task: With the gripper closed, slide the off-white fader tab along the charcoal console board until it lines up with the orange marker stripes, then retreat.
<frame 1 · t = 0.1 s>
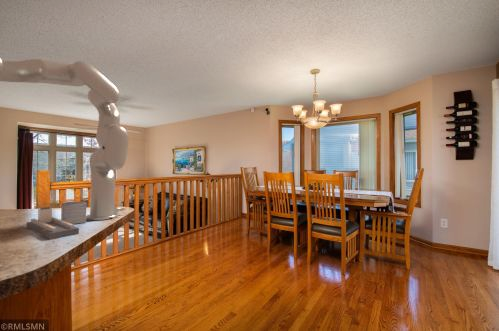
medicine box: (73, 223, 94), on the kitchen counter
console board: (51, 230, 84), on the kitchen counter
fader tab: (45, 214, 87), point 5 cm above the kitchen counter, slide at -7.0 cm
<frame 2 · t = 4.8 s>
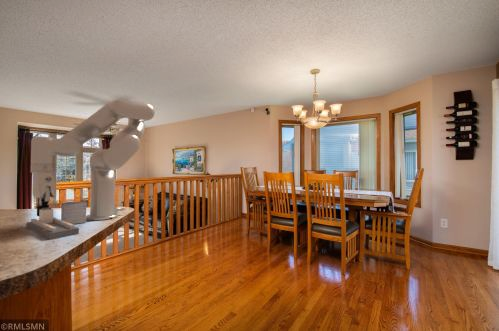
hand: (42, 215, 89), 4 cm above the kitchen counter, fingers closed
fader tab: (46, 215, 87), point 5 cm above the kitchen counter, slide at -5.7 cm, touching gripper
everything else where it was.
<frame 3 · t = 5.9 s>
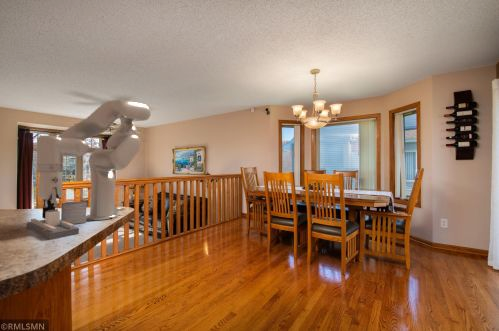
hand: (48, 217, 85), 4 cm above the kitchen counter, fingers closed
fader tab: (52, 217, 83), point 5 cm above the kitchen counter, slide at 0.7 cm, touching gripper
everything else where it was.
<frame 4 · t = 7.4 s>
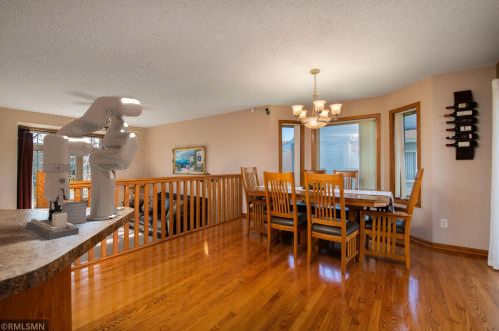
hand: (55, 220, 82), 4 cm above the kitchen counter, fingers closed
fader tab: (59, 220, 80), point 5 cm above the kitchen counter, slide at 7.0 cm, touching gripper
everything else where it was.
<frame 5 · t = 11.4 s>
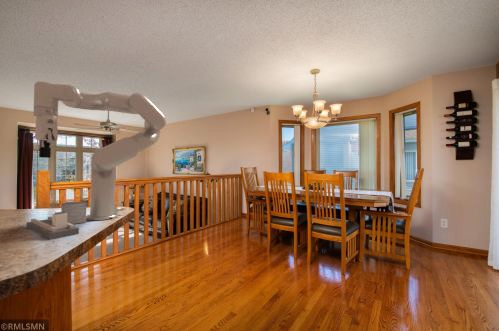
hand: (44, 157, 94), 27 cm above the kitchen counter, fingers closed
fader tab: (59, 220, 80), point 5 cm above the kitchen counter, slide at 7.3 cm
everything else where it was.
at the end: fader tab slide at 7.3 cm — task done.
